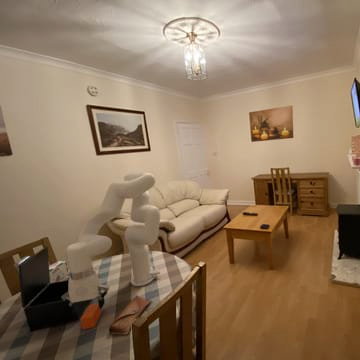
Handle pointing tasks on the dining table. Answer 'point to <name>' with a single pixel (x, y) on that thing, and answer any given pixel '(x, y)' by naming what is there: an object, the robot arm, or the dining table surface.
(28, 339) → the dining table surface
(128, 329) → the sunglasses case
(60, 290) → the black box
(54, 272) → the candy bar box
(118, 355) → the dining table surface
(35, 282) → the box lid
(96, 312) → the packet
